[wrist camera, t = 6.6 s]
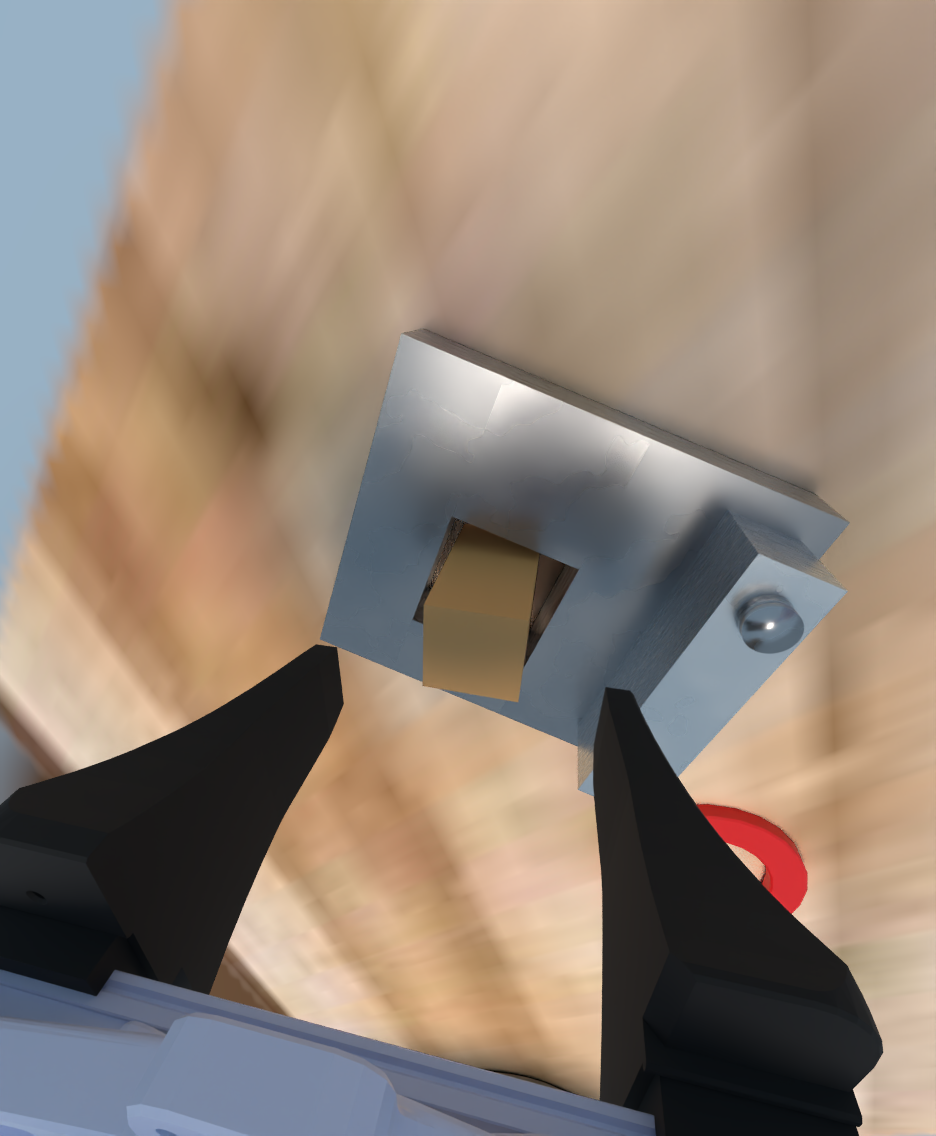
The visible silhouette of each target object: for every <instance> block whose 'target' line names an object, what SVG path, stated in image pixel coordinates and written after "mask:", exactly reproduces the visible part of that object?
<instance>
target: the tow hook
mask: <svg viewBox="0 0 936 1136" xmlns="http://www.w3.org/2000/svg"><path fill="white" fill-rule="evenodd" d="M697 806H698V808H699V809H700V810H701V812H702V813H703V815H704V816H705V817H706V818H707V820H708V821H709V822H710V824H711V825H712V826H713V828H714V829H715V830H716V832H717V833H718V834H719V835H720V836H721V838H722V839H723V840H724V841H725V842H726V843H729V844H732V845H735V846H738V847H741V848H743V849H745V850H747V851H748V852H750V853H752V854H753V855H755V856H756V857H757V858H758V859H759V860H760V861H761V862H762V863H763V864H764V865H765V866H766V875H765V877H764V880H763V882H762V885H763V886H764V887H765V888H766V889H767V890H768V891H769V892H770V893H771V894H772V895H773V896H774V897H775V898H776V899H777V900H778V901H779V902H780V903H781V904H782V905H783V906H784V907H785V908H786V909H787V910H788V911H789V912H790V913H791V914H792V913H793V912H794V911H795V910H796V909H797V908H798V907H799V906H800V905H801V902H802V900H803V898H804V896H805V894H806V892H807V871H806V869H805V866H804V864H803V862H802V859H801V857H800V855H799V853H798V850H797V848H796V846H795V844H794V843H793V842H792V841H791V840H790V839H789V837H788V836H787V835H786V834H785V833H784V832H783V831H782V830H781V829H780V828H778V827H776V826H775V825H773V824H771V823H770V822H768V821H766V820H765V819H763V818H761V817H759V816H756V815H753V814H750V813H747V812H745V811H742V810H739V809H736V808H729V807H723V806H716V805H710V804H697Z"/></svg>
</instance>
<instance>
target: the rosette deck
mask: <svg viewBox="0 0 936 1136" xmlns="http://www.w3.org/2000/svg"><path fill="white" fill-rule="evenodd" d="M455 518H457V519H459V520H462V521H464V522H467V523H469V524H471V525H474V526H476V527H478V528H481V529H483V530H486V531H488V532H490V533H493V534H495V535H498V536H500V537H502V538H505V539H507V540H510V541H512V542H514V543H517V544H519V545H521V546H524V547H526V548H529V549H531V550H533V551H536V552H538V553H541V554H543V555H545V556H548V557H550V558H552V559H555V560H557V561H560V562H562V563H564V564H565V566H564V568H563V570H562V572H561V574H560V576H559V577H558V579H557V581H556V583H555V585H554V587H553V588H552V590H551V592H550V594H549V596H548V598H547V600H546V601H545V603H544V605H543V607H542V609H541V611H540V612H539V614H538V616H537V618H536V620H535V622H534V624H533V625H532V627H531V629H530V630H529V634H528V640H527V647H526V654H525V661H524V667H523V674H522V681H521V687H520V694H519V701H518V702H513V701H507V700H502V699H496V698H490V697H484V696H479V695H473V694H467V693H461V692H455V691H450V690H444V689H441V690H443V691H446V692H448V693H450V694H453V695H455V696H458V697H460V698H462V699H465V700H467V701H470V702H472V703H474V704H477V705H479V706H482V707H484V708H486V709H489V710H491V711H494V712H496V713H499V714H501V715H503V716H506V717H508V718H511V719H513V720H515V721H518V722H520V723H523V724H525V725H527V726H530V727H532V728H535V729H537V730H539V731H542V732H544V733H547V734H549V735H551V736H554V737H556V738H559V739H561V740H563V741H566V742H568V743H571V744H573V745H576V746H578V790H580V791H582V792H585V793H587V794H590V795H592V796H594V790H593V751H594V741H595V736H596V731H597V726H598V721H599V716H600V711H601V706H602V701H603V696H604V691H605V687H609V688H616V689H623V690H630V691H631V692H632V693H633V694H634V696H635V699H636V701H637V703H638V706H639V708H640V710H641V712H642V714H643V716H644V718H645V720H646V722H647V724H648V726H649V728H650V730H651V732H652V734H653V736H654V738H655V739H656V741H657V743H658V745H659V746H660V748H661V750H662V752H663V753H664V755H665V757H666V759H667V760H668V762H669V764H670V765H671V767H672V769H673V770H674V772H675V773H676V775H677V777H678V776H679V775H680V774H681V773H682V772H683V771H684V770H685V769H686V767H687V766H688V765H689V764H690V763H691V762H692V761H693V760H694V759H695V758H696V757H697V755H698V754H699V753H700V752H701V751H702V750H703V749H704V748H705V747H706V746H707V745H708V743H709V742H710V741H711V740H712V739H713V738H714V737H715V736H716V735H717V734H718V733H719V731H720V730H721V729H722V728H723V727H724V726H725V725H726V724H727V723H728V722H729V720H730V719H731V718H732V717H733V716H734V715H735V714H736V713H737V712H738V711H739V710H740V708H741V707H742V706H743V705H744V704H745V703H746V702H747V701H748V700H749V699H750V698H751V696H752V695H753V694H754V693H755V692H756V691H757V690H758V689H759V688H760V687H761V686H762V684H763V683H764V682H765V681H766V680H767V679H768V678H769V677H770V676H771V675H772V673H773V672H774V671H775V670H776V669H777V668H778V667H779V666H780V665H781V664H782V663H783V661H784V660H785V659H786V658H787V657H788V656H789V655H790V654H791V653H792V652H793V651H794V649H795V648H796V647H797V646H798V645H799V644H800V643H801V642H802V641H803V640H804V639H805V637H806V636H807V635H808V634H809V633H810V632H811V631H812V630H813V629H814V628H815V627H816V625H817V624H818V623H819V622H820V621H821V620H822V619H823V618H824V617H825V616H826V614H827V613H828V612H829V611H830V610H831V609H832V608H833V607H834V606H835V605H836V604H837V602H838V601H839V600H840V599H841V598H842V597H843V596H844V595H845V594H846V593H847V592H848V591H847V590H846V589H845V588H844V587H843V586H842V584H841V583H840V582H839V581H838V580H837V579H836V578H835V577H834V576H833V575H832V574H831V572H830V571H829V570H828V569H827V568H826V567H825V566H824V565H823V564H822V563H821V562H820V560H819V559H820V558H821V556H822V555H823V554H824V553H825V552H826V550H827V549H828V548H829V547H830V546H831V545H832V543H833V542H834V541H835V540H836V539H837V537H838V536H839V535H840V534H841V533H842V532H843V530H844V529H845V528H846V527H847V526H848V524H849V522H848V521H847V520H846V519H845V518H843V517H842V516H841V515H840V514H839V513H837V512H836V511H835V510H834V509H833V508H831V507H830V506H829V505H828V504H827V503H825V502H824V501H823V500H822V499H821V498H819V497H818V496H817V495H816V494H813V493H811V492H809V491H806V490H804V489H801V488H799V487H797V486H794V485H792V484H790V483H787V482H785V481H783V480H780V479H778V478H775V477H773V476H771V475H768V474H766V473H764V472H761V471H759V470H757V469H754V468H752V467H749V466H747V465H745V464H742V463H740V462H738V461H735V460H733V459H730V458H728V457H726V456H723V455H721V454H719V453H716V452H714V451H712V450H709V449H707V448H704V447H702V446H700V445H697V444H695V443H693V442H690V441H688V440H686V439H683V438H681V437H678V436H676V435H674V434H671V433H669V432H667V431H664V430H662V429H660V428H657V427H655V426H652V425H650V424H648V423H645V422H643V421H641V420H638V419H636V418H633V417H631V416H629V415H626V414H624V413H622V412H619V411H617V410H615V409H612V408H610V407H607V406H605V405H603V404H600V403H598V402H596V401H593V400H591V399H589V398H586V397H584V396H581V395H579V394H577V393H574V392H572V391H570V390H567V389H565V388H563V387H560V386H558V385H555V384H553V383H551V382H548V381H546V380H544V379H541V378H539V377H536V376H534V375H532V374H529V373H527V372H525V371H522V370H520V369H518V368H515V367H513V366H510V365H508V364H506V363H503V362H501V361H499V360H496V359H494V358H492V357H489V356H487V355H484V354H482V353H480V352H477V351H475V350H473V349H470V348H468V347H465V346H463V345H461V344H458V343H456V342H454V341H451V340H449V339H447V338H444V337H442V336H439V335H437V334H435V333H432V332H430V331H428V330H425V329H420V330H415V331H410V332H406V333H401V337H400V341H399V345H398V348H397V352H396V356H395V360H394V363H393V367H392V371H391V375H390V378H389V382H388V386H387V390H386V393H385V397H384V401H383V405H382V408H381V412H380V416H379V420H378V423H377V427H376V431H375V435H374V438H373V442H372V446H371V450H370V453H369V457H368V461H367V465H366V468H365V472H364V476H363V480H362V483H361V487H360V491H359V495H358V498H357V502H356V506H355V510H354V513H353V517H352V521H351V525H350V528H349V532H348V536H347V540H346V543H345V547H344V551H343V555H342V558H341V562H340V566H339V570H338V573H337V577H336V581H335V585H334V588H333V592H332V596H331V600H330V603H329V607H328V611H327V615H326V618H325V622H324V626H323V630H322V633H321V637H320V640H323V641H325V642H328V643H330V644H332V645H335V646H337V647H340V648H342V649H345V650H347V651H349V652H352V653H354V654H357V655H359V656H361V657H364V658H366V659H369V660H371V661H373V662H376V663H378V664H381V665H383V666H385V667H388V668H390V669H393V670H395V671H397V672H400V673H402V674H405V675H407V676H409V677H412V678H414V679H417V680H419V681H422V682H423V616H424V603H425V601H426V599H427V597H428V595H429V593H430V591H431V589H429V585H430V583H431V580H432V577H433V575H434V572H435V570H436V567H437V564H438V562H439V559H440V557H441V554H442V551H443V549H444V546H445V544H446V541H447V538H448V536H449V533H450V531H451V528H452V525H453V523H454V520H455Z"/></svg>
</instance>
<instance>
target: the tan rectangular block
mask: <svg viewBox="0 0 936 1136" xmlns="http://www.w3.org/2000/svg"><path fill="white" fill-rule="evenodd" d="M539 555H540V553H538V552H536V551H533V550H531V549H529V548H526V547H524V546H521V545H519V544H517V543H514V542H512V541H510V540H507V539H505V538H502V537H500V536H498V535H495V534H493V533H490V532H488V531H486V530H483V529H481V528H478V527H476V526H474V525H471V524H464V526H463V528H462V530H461V532H460V534H459V536H458V538H457V540H456V542H455V544H454V546H453V548H452V549H451V551H450V553H449V555H448V557H447V559H446V561H445V563H444V565H443V567H442V569H441V571H440V573H439V575H438V577H437V579H436V581H435V583H434V585H433V587H432V589H431V591H430V593H429V595H428V597H427V599H426V601H425V603H424V616H423V686H426V687H432V688H438V689H444V690H450V691H455V692H461V693H467V694H473V695H479V696H484V697H490V698H496V699H502V700H507V701H513V702H518V701H519V694H520V687H521V681H522V674H523V667H524V661H525V654H526V647H527V640H528V634H529V627H530V620H531V614H532V607H533V600H534V593H535V585H536V578H537V570H538V563H539Z"/></svg>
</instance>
